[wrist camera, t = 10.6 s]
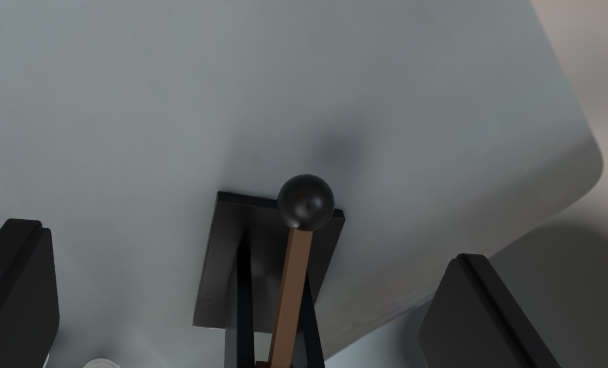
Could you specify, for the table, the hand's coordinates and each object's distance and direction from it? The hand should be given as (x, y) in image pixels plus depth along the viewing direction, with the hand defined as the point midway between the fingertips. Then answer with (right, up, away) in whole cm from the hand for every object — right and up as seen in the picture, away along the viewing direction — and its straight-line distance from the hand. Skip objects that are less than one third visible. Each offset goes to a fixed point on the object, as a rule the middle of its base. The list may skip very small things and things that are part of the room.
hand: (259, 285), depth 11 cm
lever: (0, -4, +17) cm, 17 cm away
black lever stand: (-2, -4, +25) cm, 25 cm away
